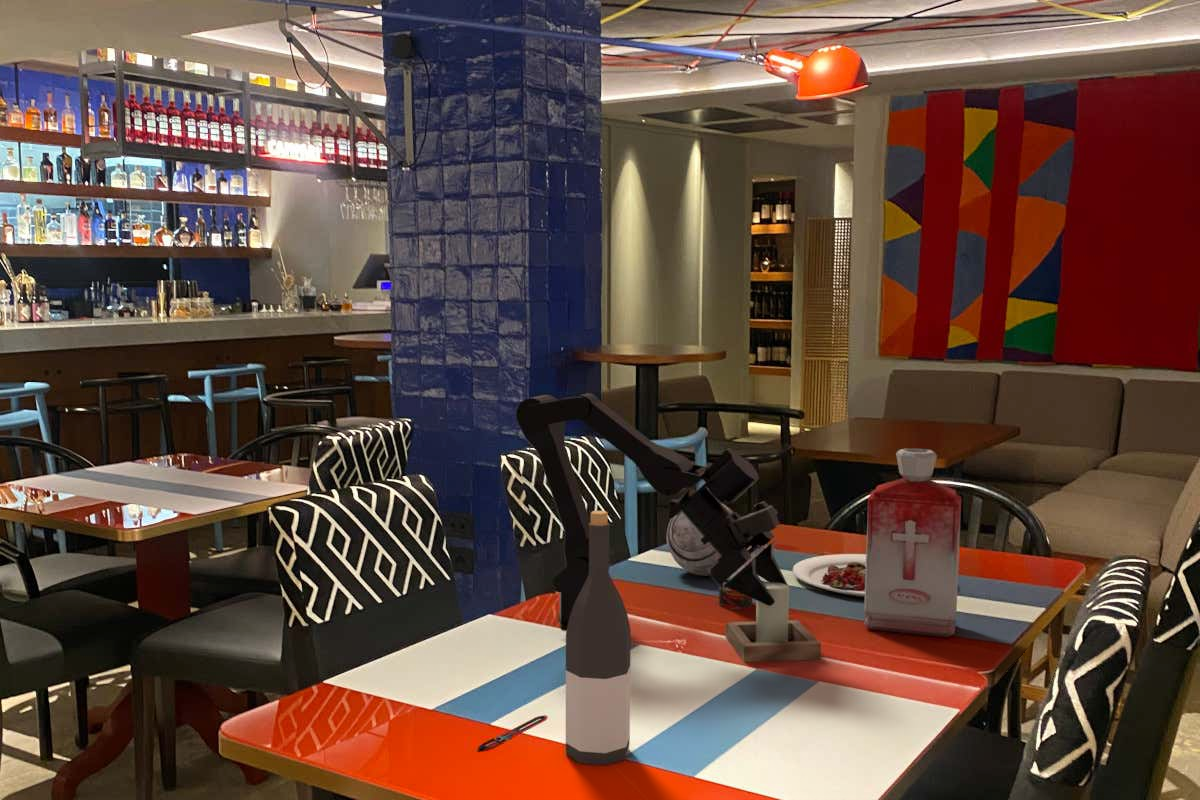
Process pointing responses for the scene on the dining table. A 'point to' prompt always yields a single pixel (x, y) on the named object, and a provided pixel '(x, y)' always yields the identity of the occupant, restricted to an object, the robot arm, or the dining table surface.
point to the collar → (773, 643)
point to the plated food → (834, 573)
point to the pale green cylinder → (773, 615)
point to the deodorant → (733, 598)
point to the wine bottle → (598, 661)
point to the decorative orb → (690, 546)
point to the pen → (511, 733)
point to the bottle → (913, 551)
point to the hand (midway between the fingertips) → (779, 596)
